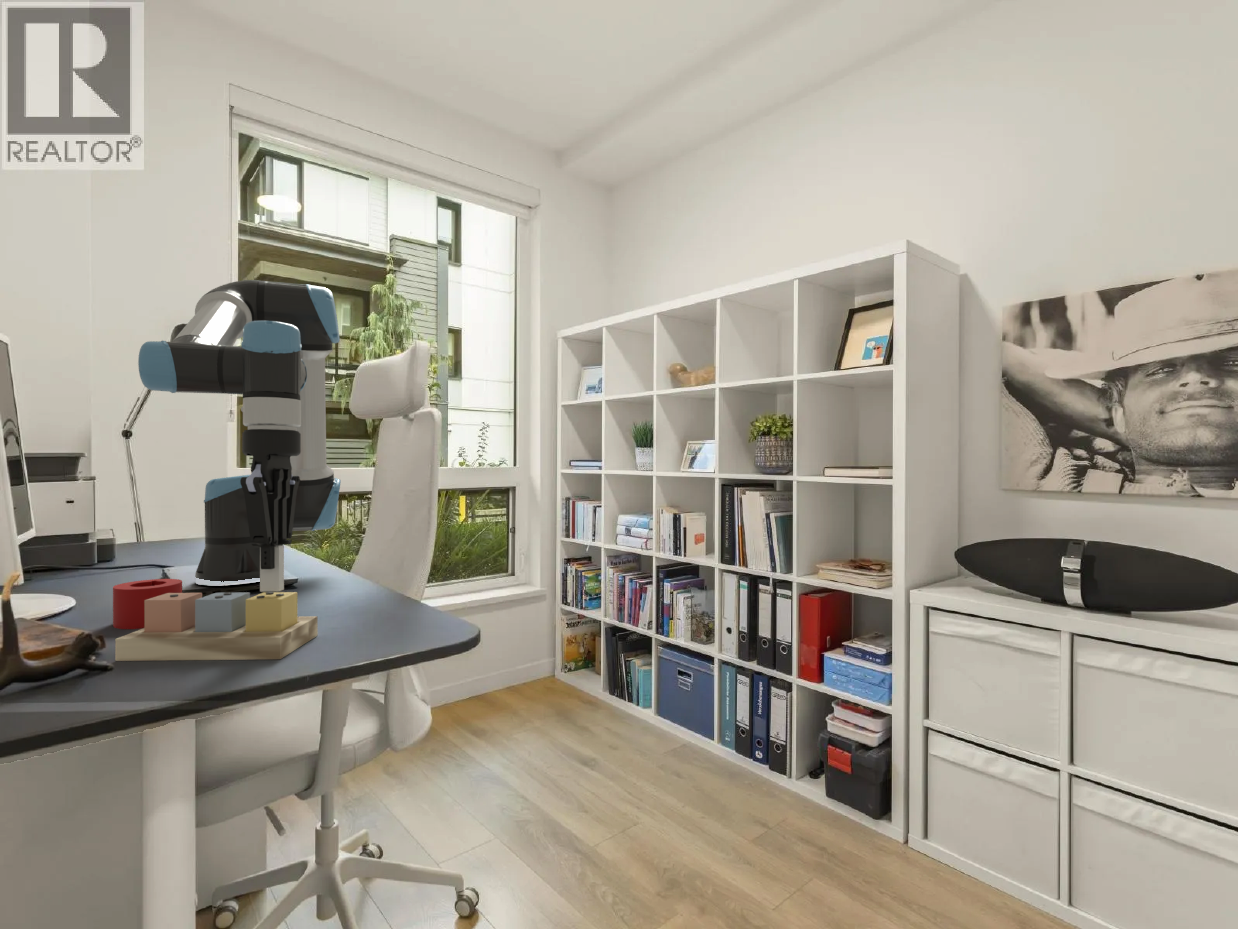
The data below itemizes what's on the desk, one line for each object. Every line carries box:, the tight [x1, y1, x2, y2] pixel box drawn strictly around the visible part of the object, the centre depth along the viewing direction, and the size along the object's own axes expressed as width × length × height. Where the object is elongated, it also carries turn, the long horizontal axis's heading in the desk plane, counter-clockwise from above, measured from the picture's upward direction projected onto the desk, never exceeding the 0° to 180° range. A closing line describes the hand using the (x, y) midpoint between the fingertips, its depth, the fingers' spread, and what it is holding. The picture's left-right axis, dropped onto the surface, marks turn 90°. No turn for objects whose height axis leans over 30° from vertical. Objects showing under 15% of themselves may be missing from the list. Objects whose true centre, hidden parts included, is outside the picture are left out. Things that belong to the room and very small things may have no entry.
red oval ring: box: [112, 578, 183, 630], centre depth 113 cm, size 18×9×7 cm, turn 18°
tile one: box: [144, 592, 203, 633], centre depth 94 cm, size 5×5×5 cm
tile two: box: [195, 591, 251, 632], centre depth 94 cm, size 5×5×5 cm
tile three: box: [246, 591, 298, 632], centre depth 94 cm, size 5×5×5 cm
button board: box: [114, 615, 319, 662], centre depth 94 cm, size 12×22×3 cm, turn 92°
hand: (272, 590), depth 94 cm, fingers closed
